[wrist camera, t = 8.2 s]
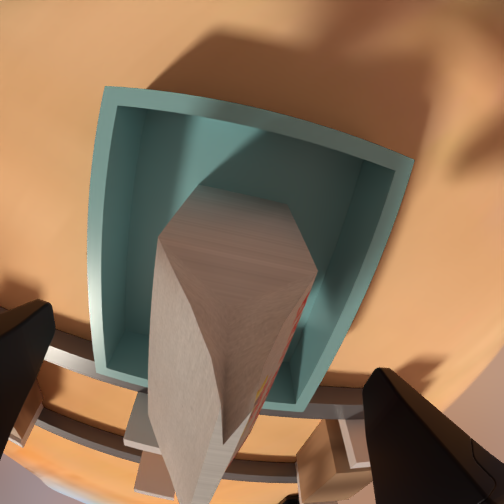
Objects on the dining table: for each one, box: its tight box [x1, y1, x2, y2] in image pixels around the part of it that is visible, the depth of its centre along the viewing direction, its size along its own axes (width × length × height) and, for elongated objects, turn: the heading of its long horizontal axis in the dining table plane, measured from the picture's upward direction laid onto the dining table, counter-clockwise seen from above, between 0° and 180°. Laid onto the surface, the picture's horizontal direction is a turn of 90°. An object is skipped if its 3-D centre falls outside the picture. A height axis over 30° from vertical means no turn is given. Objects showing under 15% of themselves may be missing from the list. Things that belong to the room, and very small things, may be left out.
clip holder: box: [0, 307, 371, 504], centre depth 17 cm, size 13×31×5 cm, turn 77°
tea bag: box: [148, 185, 318, 504], centre depth 9 cm, size 4×7×10 cm, turn 167°
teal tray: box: [87, 86, 415, 412], centre depth 12 cm, size 12×10×4 cm
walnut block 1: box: [11, 379, 43, 439], centre depth 15 cm, size 6×4×5 cm, turn 166°
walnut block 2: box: [296, 419, 373, 503], centre depth 18 cm, size 6×4×5 cm, turn 166°
